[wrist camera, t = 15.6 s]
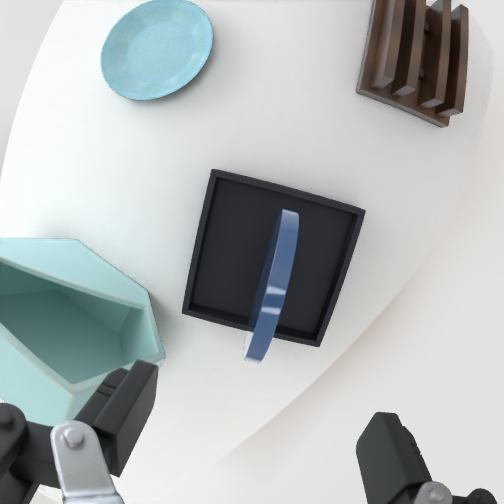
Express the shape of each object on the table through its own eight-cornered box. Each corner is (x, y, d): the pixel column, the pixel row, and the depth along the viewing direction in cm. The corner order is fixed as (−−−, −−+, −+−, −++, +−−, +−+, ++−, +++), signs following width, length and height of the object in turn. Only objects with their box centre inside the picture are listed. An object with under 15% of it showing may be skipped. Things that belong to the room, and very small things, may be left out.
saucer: (227, 84, 27) (224, 77, 25) (117, 120, 28) (107, 116, 26) (205, -6, 25) (201, -16, 22) (105, 31, 26) (96, 24, 24)
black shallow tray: (358, 207, 29) (366, 210, 27) (316, 335, 33) (319, 347, 30) (216, 169, 29) (211, 168, 27) (187, 303, 33) (181, 313, 30)
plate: (281, 196, 28) (283, 229, 17) (294, 200, 28) (305, 235, 17) (249, 311, 32) (235, 392, 21) (261, 314, 32) (252, 396, 21)
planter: (140, 263, 37) (186, 408, 21) (117, 310, 38) (149, 453, 23) (12, 213, 27) (-49, 356, 11) (-2, 270, 28) (-40, 419, 12)
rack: (374, -10, 23) (389, -34, 18) (452, 26, 23) (475, 9, 18) (355, 92, 27) (372, 76, 21) (441, 127, 27) (469, 121, 21)
